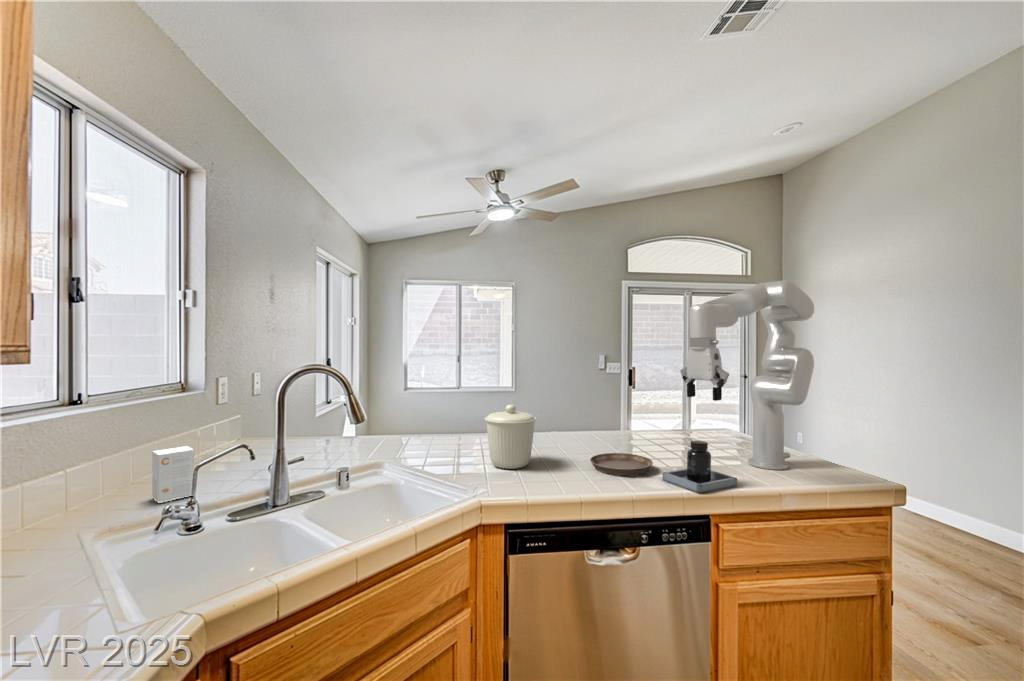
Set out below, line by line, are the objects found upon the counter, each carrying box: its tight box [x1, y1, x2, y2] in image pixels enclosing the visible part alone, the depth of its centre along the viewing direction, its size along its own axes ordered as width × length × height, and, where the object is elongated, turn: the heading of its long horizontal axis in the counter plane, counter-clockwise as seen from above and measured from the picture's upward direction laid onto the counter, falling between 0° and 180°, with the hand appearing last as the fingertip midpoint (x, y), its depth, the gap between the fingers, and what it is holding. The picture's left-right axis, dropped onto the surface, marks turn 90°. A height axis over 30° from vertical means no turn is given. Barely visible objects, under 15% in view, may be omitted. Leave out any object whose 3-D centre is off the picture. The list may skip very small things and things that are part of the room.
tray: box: [662, 468, 738, 495], centre depth 139 cm, size 16×14×2 cm
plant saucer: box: [589, 452, 654, 476], centre depth 155 cm, size 21×21×3 cm
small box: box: [151, 445, 195, 501], centre depth 123 cm, size 8×6×13 cm
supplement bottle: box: [686, 439, 712, 484], centre depth 140 cm, size 7×7×12 cm
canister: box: [484, 404, 538, 470], centre depth 158 cm, size 18×18×21 cm
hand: (703, 398), depth 143 cm, fingers open, 9 cm apart
